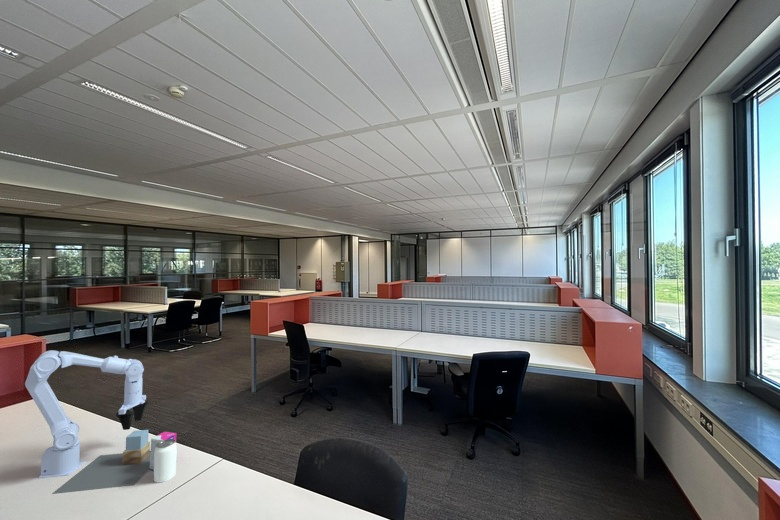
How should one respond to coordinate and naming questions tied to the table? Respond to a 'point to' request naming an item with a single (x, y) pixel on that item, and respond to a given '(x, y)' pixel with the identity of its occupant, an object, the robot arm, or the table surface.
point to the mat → (106, 474)
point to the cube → (136, 440)
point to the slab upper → (136, 452)
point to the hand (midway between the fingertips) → (132, 424)
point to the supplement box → (156, 440)
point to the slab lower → (136, 459)
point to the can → (165, 460)
